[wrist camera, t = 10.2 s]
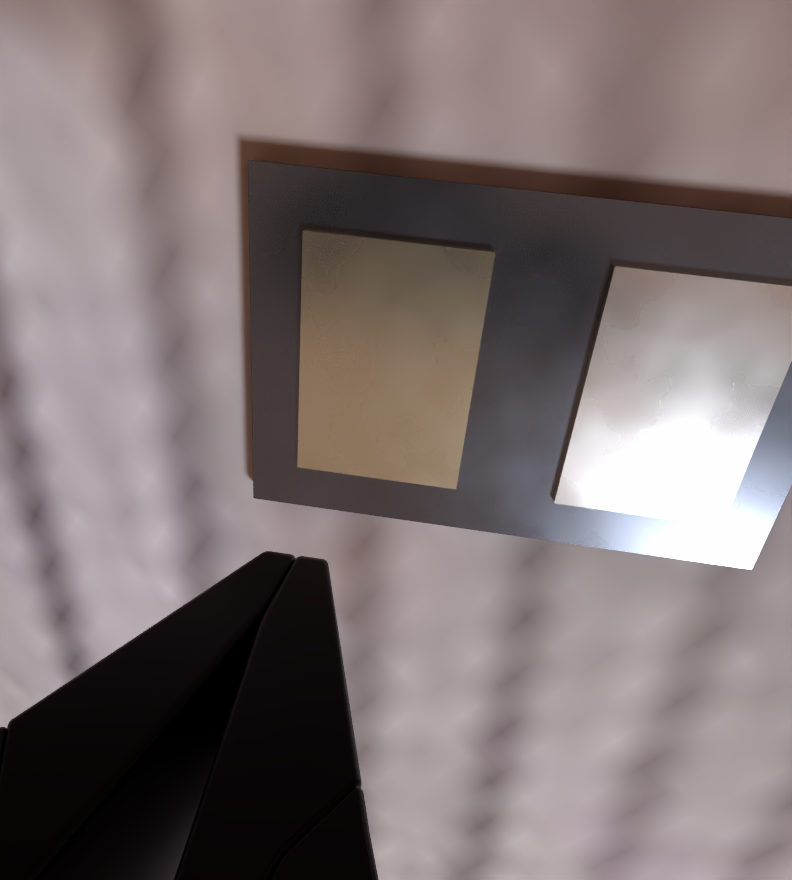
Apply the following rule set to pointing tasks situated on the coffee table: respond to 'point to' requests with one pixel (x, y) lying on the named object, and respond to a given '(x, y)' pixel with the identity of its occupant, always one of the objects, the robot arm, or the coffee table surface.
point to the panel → (521, 361)
